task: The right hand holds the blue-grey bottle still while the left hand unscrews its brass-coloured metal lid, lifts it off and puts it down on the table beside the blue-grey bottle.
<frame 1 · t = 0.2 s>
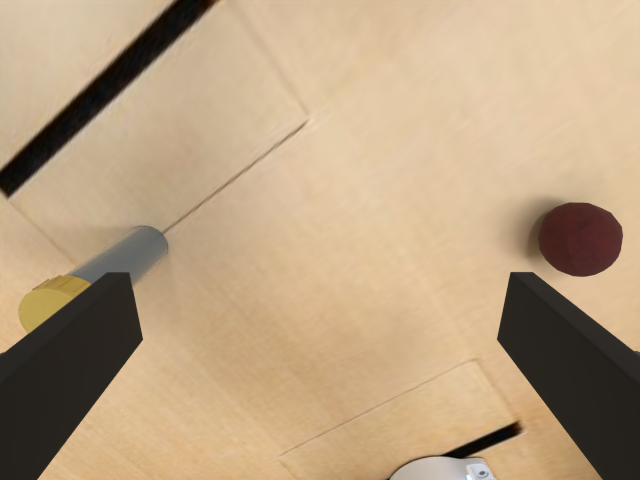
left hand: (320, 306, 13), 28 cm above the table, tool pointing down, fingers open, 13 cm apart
lid: (57, 317, 28), point 15 cm above the table, screwed on, not yet turned
blue-grey bottle: (147, 245, 42), on the table
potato: (556, 227, 41), on the table
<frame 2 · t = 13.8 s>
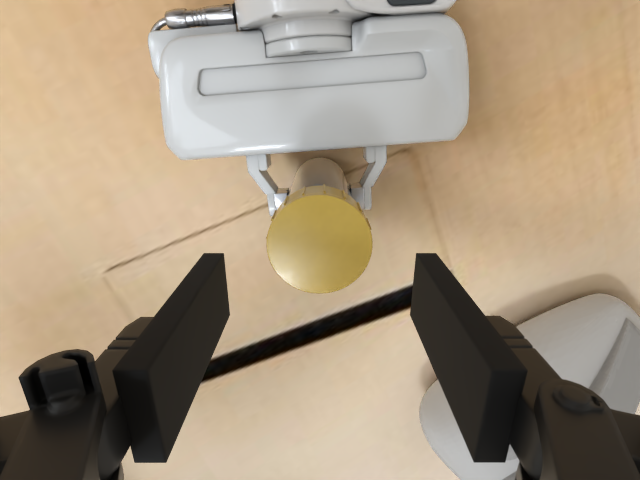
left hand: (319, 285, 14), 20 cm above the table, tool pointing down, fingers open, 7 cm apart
right hand: (321, 211, 27), fingers closed on blue-grey bottle, 5 cm apart
lid: (319, 244, 18), point 15 cm above the table, screwed on, not yet turned
projector: (521, 368, 40), on the table
blue-grey bottle: (319, 183, 33), on the table, touching right hand
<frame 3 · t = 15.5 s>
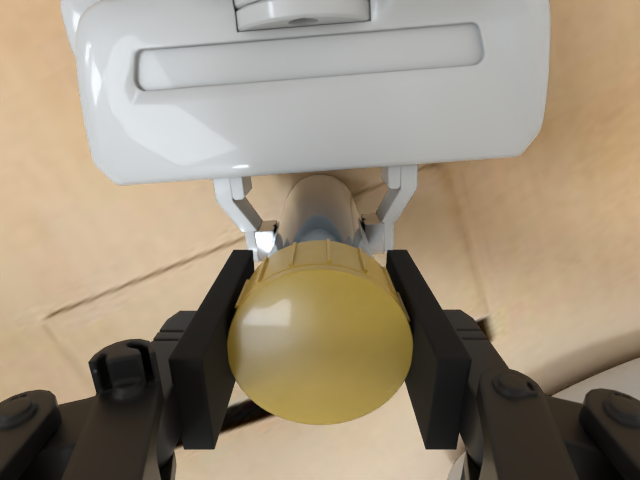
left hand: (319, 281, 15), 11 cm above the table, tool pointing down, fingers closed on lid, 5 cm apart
right hand: (322, 253, 20), fingers closed on blue-grey bottle, 5 cm apart
lid: (320, 346, 11), point 15 cm above the table, screwed on, not yet turned, touching left hand
projector: (571, 432, 32), on the table
blue-grey bottle: (320, 208, 25), on the table, touching right hand
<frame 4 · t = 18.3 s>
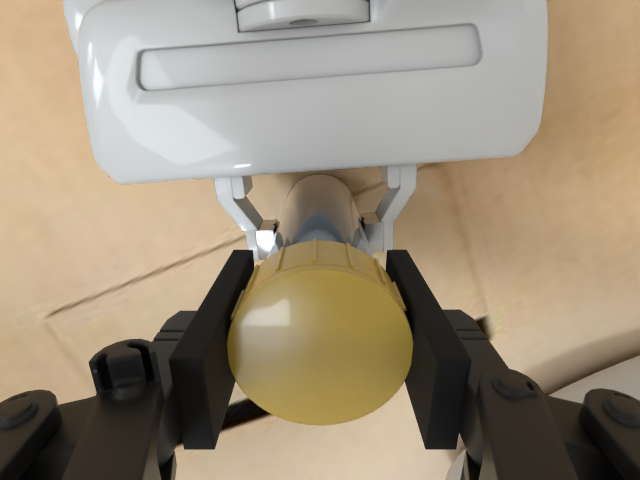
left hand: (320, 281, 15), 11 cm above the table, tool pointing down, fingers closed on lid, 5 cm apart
right hand: (322, 252, 20), fingers closed on blue-grey bottle, 5 cm apart
lid: (320, 347, 11), point 15 cm above the table, turned 76° so far, risen 0.2 cm, still on its thread, touching left hand
projector: (569, 431, 32), on the table
blue-grey bottle: (320, 207, 25), on the table, touching right hand
when the left hand's fingers open (0 cm above the table, at t = 24.8 s): lid drops 2 cm, point 2 cm above the table.
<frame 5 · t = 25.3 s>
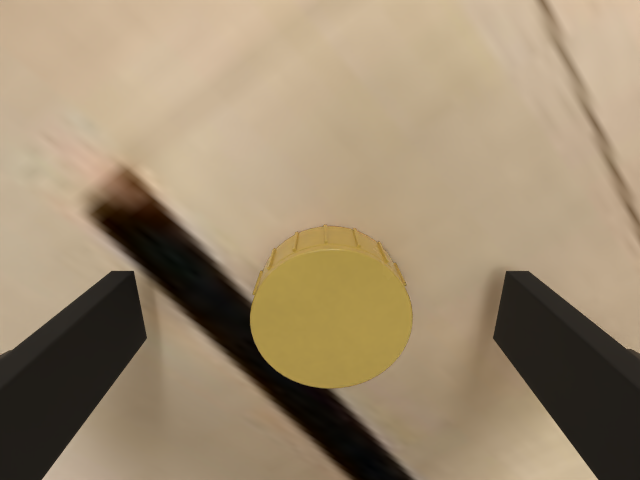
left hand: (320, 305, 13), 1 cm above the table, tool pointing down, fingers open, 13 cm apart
lid: (331, 318, 12), point 2 cm above the table, off its thread
when the right hand's fingers open (6 cm above the table, at t = 26.0 s): blue-grey bottle stays where it is, on the table.
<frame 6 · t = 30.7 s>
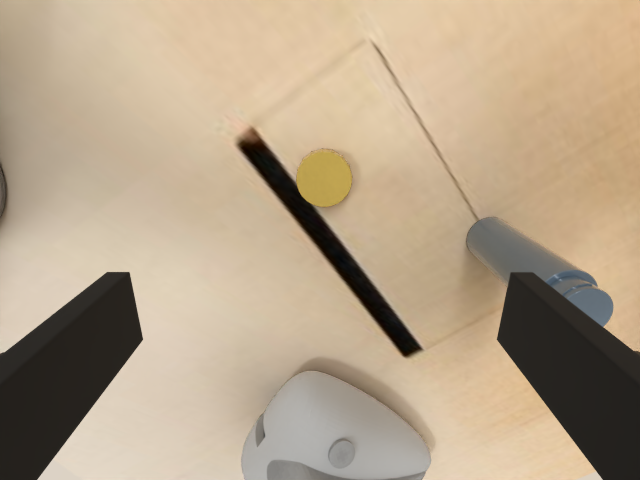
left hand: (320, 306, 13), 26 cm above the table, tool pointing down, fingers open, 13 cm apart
lid: (324, 179, 35), point 2 cm above the table, off its thread
projector: (344, 423, 48), on the table
blue-grey bottle: (488, 237, 39), on the table
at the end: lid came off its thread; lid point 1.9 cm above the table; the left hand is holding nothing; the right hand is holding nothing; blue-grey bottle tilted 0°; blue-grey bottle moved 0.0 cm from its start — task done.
